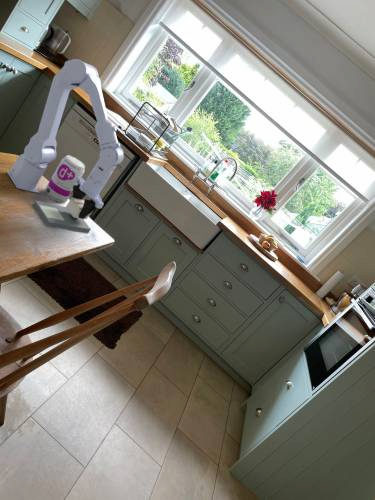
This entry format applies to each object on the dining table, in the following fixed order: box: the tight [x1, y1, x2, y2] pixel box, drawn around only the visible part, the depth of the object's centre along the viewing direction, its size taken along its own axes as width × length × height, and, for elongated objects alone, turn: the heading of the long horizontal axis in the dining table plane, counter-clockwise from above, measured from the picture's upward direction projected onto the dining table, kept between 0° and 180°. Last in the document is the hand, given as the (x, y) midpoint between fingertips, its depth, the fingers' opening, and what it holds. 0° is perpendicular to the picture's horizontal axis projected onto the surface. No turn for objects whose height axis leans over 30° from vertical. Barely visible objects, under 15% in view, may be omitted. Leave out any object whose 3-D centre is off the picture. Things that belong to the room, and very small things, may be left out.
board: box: [32, 200, 91, 234], centre depth 124 cm, size 11×16×2 cm
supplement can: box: [45, 154, 86, 203], centre depth 133 cm, size 8×8×15 cm
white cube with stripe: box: [65, 196, 91, 220], centre depth 126 cm, size 5×5×4 cm
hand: (76, 212), depth 127 cm, fingers closed on white cube with stripe, 5 cm apart
